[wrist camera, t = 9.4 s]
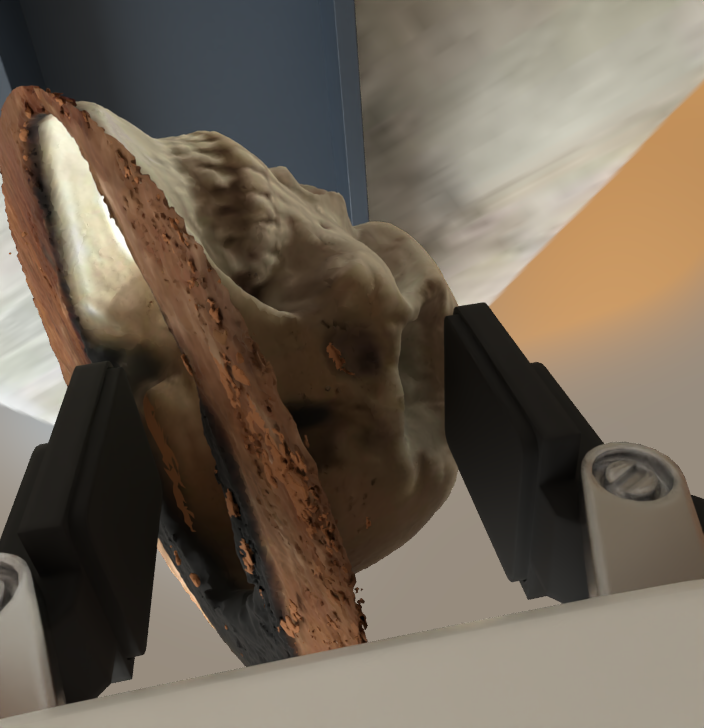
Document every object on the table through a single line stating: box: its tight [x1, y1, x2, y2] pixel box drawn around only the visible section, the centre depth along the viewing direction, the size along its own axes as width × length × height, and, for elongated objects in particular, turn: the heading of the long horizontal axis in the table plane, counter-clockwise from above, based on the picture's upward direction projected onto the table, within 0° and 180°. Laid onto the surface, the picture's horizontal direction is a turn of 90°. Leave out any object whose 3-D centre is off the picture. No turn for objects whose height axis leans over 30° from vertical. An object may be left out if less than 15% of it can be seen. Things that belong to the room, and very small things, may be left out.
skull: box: [0, 85, 458, 667], centre depth 13 cm, size 12×10×10 cm
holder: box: [0, 0, 369, 226], centre depth 26 cm, size 18×12×5 cm, turn 4°
